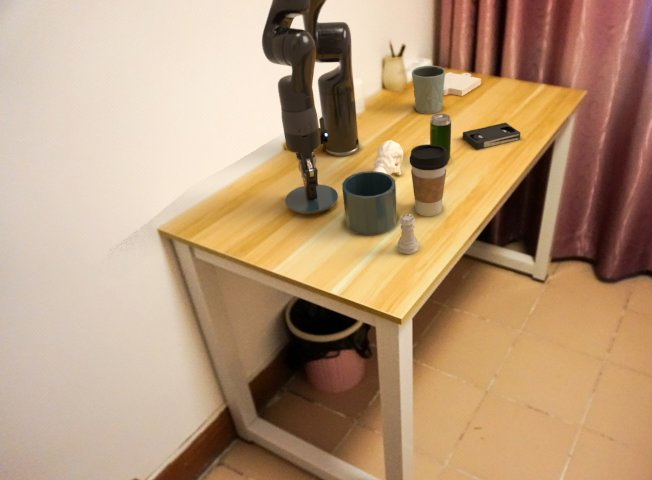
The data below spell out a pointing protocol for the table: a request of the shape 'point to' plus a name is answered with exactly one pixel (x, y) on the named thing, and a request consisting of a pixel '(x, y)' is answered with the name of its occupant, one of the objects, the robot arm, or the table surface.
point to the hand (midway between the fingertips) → (311, 195)
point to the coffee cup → (428, 177)
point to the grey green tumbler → (428, 88)
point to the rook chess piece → (407, 235)
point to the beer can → (441, 131)
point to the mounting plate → (459, 83)
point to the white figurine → (389, 158)
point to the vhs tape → (491, 136)
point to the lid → (301, 204)
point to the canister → (370, 202)
